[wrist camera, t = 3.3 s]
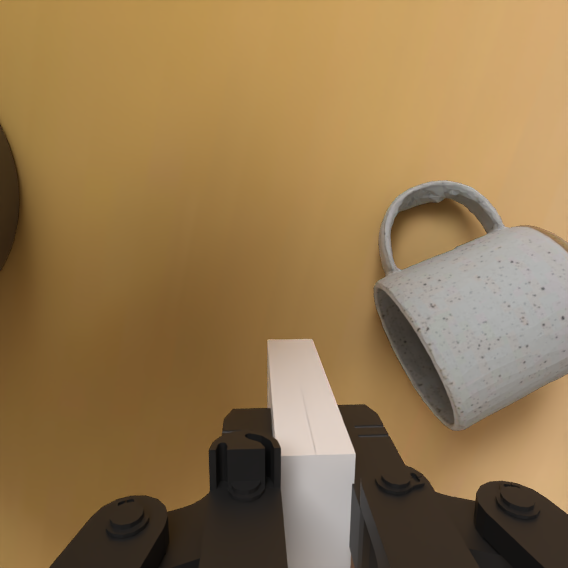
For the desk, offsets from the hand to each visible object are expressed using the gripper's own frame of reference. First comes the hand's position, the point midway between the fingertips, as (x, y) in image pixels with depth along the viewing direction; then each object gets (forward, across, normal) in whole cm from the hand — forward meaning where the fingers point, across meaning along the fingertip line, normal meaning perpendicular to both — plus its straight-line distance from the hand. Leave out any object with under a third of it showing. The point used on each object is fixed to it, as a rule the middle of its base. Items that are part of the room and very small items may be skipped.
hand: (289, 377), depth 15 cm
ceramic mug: (+10, +9, +1) cm, 13 cm away
